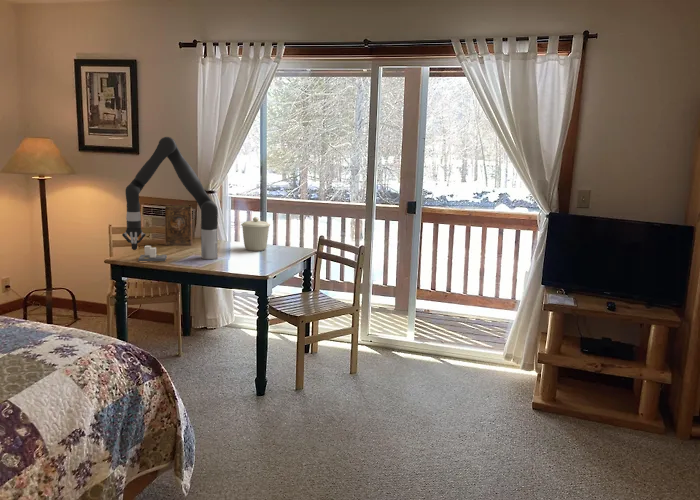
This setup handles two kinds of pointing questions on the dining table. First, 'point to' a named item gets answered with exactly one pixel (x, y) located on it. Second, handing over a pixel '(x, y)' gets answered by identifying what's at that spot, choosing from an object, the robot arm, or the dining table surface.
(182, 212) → the book
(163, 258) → the switch board
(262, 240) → the canister
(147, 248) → the tab
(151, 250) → the tab
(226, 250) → the dining table surface
